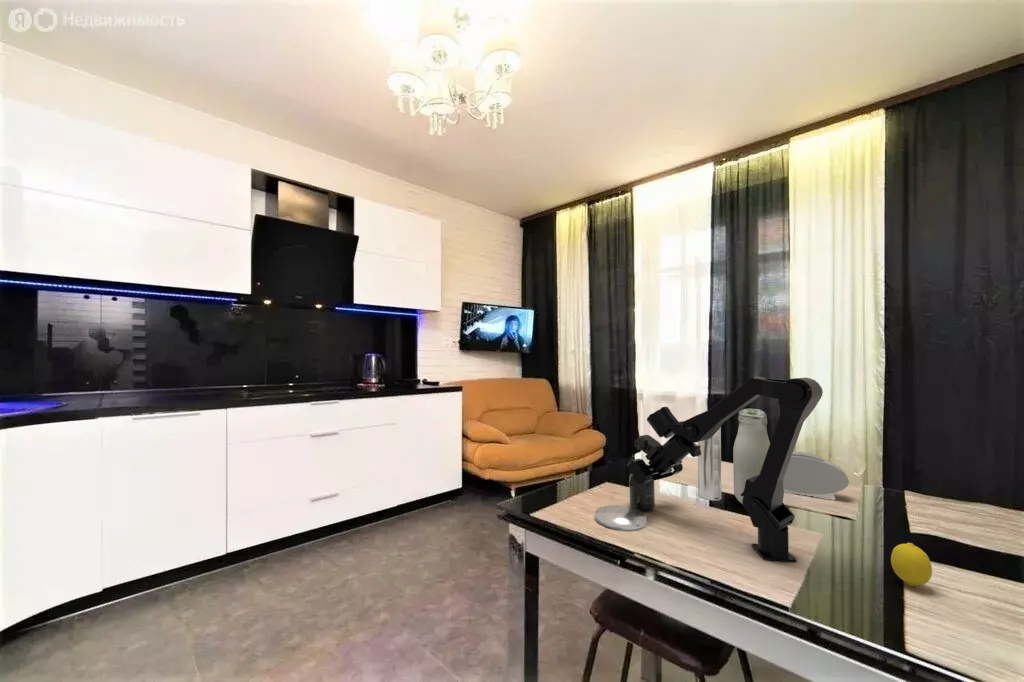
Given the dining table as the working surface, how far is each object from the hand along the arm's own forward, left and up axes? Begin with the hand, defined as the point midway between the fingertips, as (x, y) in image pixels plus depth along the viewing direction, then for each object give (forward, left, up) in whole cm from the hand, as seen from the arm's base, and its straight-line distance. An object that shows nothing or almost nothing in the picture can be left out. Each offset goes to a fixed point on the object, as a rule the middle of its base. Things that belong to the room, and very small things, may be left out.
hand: (637, 483), depth 116 cm
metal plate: (-11, +6, -7) cm, 14 cm away
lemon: (-33, -45, -7) cm, 56 cm away
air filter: (+12, -23, -7) cm, 27 cm away
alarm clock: (+21, -53, -7) cm, 57 cm away
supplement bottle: (-1, -1, -7) cm, 7 cm away
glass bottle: (+6, -33, -7) cm, 34 cm away
